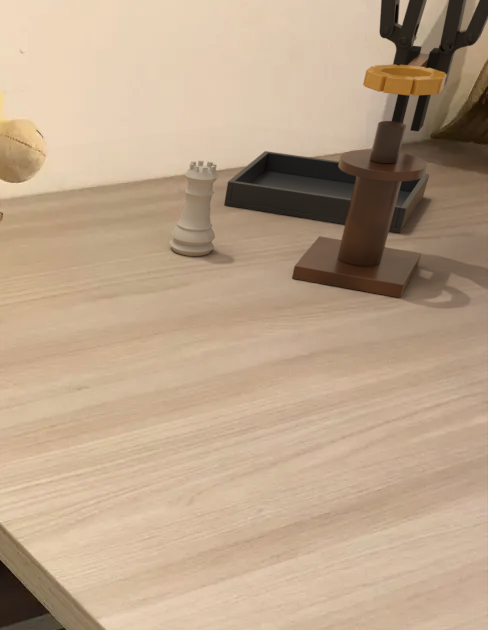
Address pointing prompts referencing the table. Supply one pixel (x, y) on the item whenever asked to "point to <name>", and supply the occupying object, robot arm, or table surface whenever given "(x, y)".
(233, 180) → the tray
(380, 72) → the hanging ring
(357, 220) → the peg stand
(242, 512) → the table surface
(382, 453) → the table surface
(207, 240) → the rook chess piece
